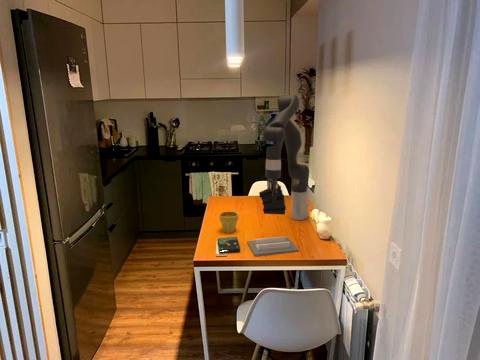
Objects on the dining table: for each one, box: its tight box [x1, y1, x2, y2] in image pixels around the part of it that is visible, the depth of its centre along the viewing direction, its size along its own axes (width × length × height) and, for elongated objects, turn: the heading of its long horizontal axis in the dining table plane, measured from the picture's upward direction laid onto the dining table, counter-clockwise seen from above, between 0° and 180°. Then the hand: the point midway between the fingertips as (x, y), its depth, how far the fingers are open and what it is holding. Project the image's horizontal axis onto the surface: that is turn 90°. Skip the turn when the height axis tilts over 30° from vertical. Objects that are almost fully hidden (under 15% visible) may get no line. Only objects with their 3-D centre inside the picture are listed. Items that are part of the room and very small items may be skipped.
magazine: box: [258, 184, 287, 215], centre depth 186 cm, size 4×13×15 cm, turn 84°
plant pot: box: [218, 210, 239, 234], centre depth 207 cm, size 10×10×10 cm
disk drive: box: [217, 236, 241, 255], centre depth 187 cm, size 10×3×15 cm
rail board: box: [246, 235, 299, 257], centre depth 185 cm, size 22×16×4 cm
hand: (272, 201), depth 186 cm, fingers closed on magazine, 4 cm apart
